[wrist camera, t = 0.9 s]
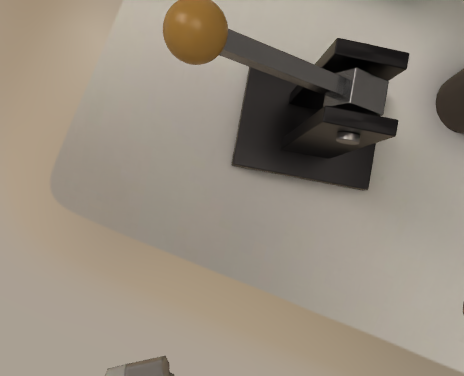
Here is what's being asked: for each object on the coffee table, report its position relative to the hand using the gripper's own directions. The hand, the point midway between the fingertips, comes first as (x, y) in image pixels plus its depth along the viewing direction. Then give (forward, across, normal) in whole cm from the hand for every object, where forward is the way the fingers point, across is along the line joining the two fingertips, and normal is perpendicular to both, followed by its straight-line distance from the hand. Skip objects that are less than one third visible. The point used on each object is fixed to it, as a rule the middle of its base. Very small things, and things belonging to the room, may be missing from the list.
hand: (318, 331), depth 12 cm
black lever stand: (+27, -7, +8) cm, 29 cm away
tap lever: (+17, -2, -1) cm, 18 cm away
